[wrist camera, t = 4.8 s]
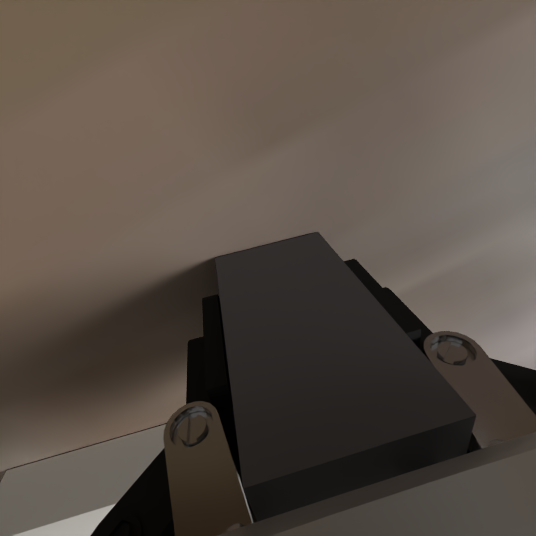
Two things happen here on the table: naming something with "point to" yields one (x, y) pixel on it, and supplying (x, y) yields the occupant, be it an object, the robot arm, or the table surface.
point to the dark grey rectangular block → (325, 380)
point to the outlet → (74, 486)
